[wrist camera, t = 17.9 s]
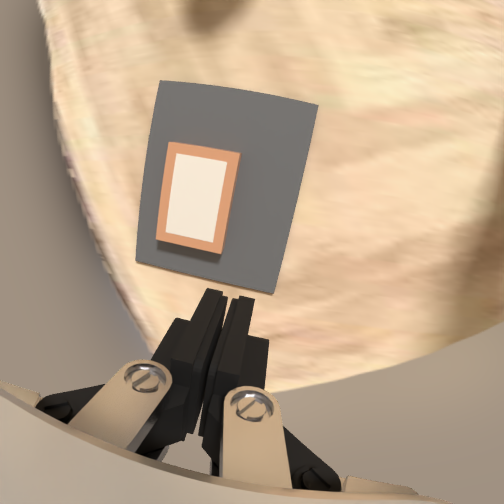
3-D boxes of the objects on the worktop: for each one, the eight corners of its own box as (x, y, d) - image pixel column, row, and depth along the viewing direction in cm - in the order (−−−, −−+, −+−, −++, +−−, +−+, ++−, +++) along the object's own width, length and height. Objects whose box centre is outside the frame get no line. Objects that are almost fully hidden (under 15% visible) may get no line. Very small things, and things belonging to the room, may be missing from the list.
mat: (161, 81, 28) (160, 80, 28) (318, 105, 28) (318, 105, 27) (136, 259, 35) (135, 260, 35) (273, 292, 35) (273, 293, 34)
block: (242, 153, 30) (174, 141, 30) (239, 153, 28) (168, 141, 28) (224, 248, 33) (161, 234, 33) (221, 254, 32) (155, 239, 32)
